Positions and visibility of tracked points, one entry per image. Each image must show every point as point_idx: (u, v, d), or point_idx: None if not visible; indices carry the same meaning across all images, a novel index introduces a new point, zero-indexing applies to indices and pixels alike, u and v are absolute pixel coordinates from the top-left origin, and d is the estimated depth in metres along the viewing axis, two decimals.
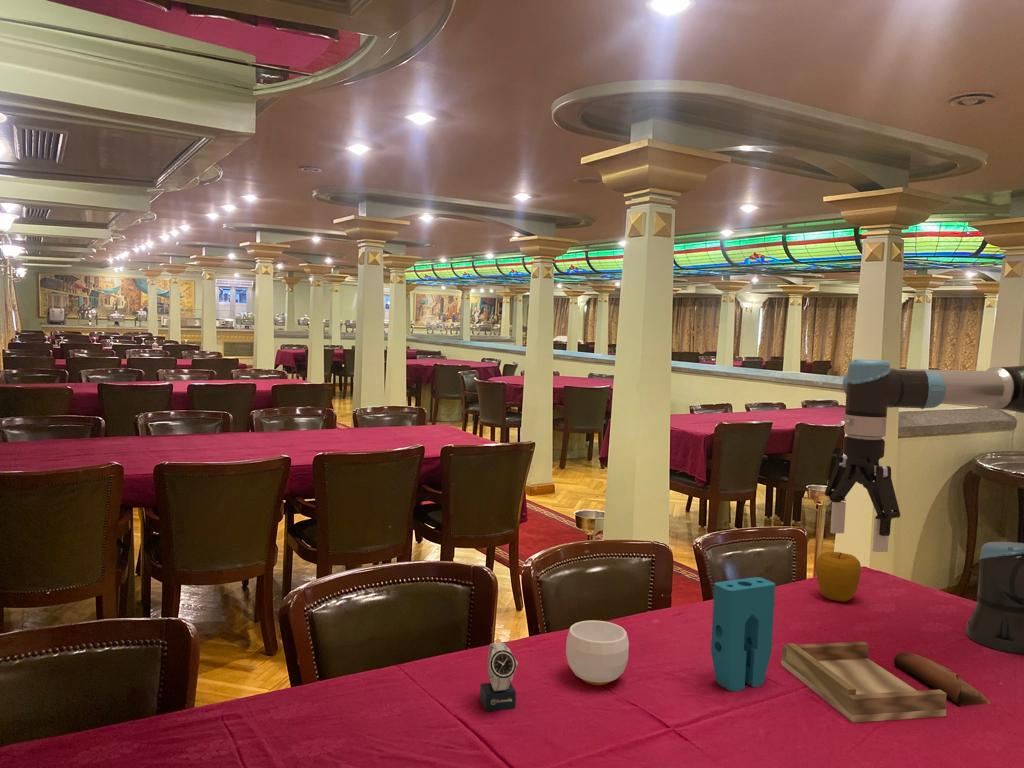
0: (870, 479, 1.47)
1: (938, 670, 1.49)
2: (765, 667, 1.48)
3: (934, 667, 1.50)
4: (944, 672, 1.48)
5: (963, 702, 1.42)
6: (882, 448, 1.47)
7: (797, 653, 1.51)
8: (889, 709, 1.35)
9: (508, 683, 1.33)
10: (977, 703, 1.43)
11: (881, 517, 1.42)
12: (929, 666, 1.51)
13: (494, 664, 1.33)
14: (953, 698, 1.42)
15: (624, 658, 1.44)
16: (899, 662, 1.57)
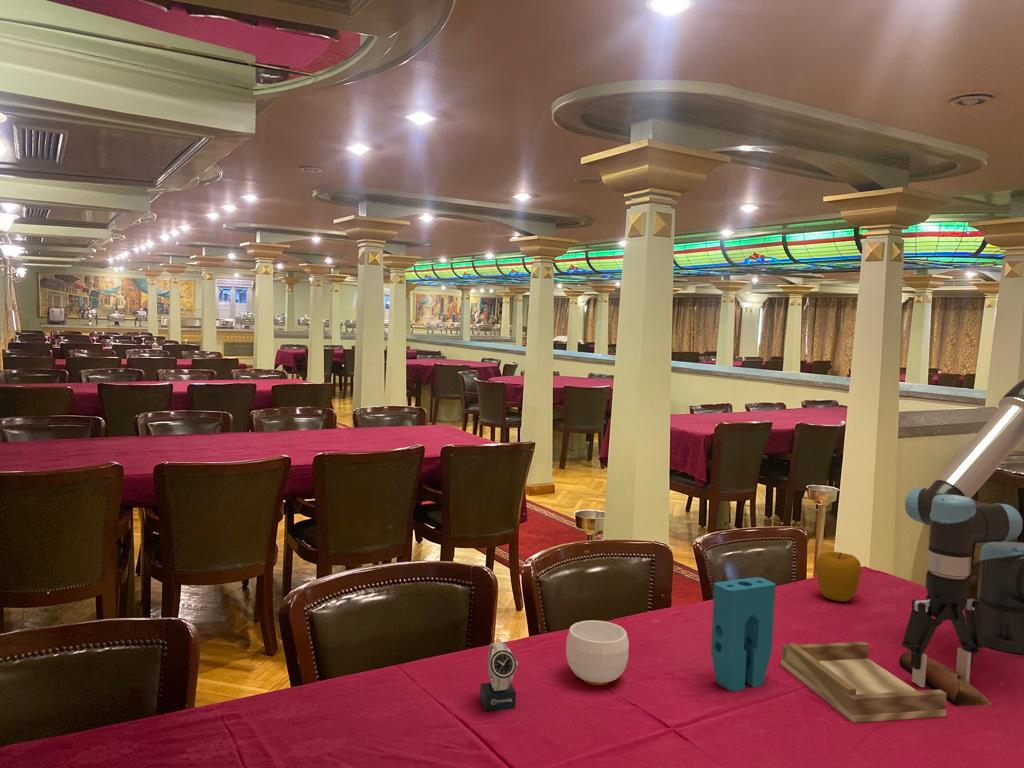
0: (932, 613, 1.50)
1: (940, 670, 1.49)
2: (765, 667, 1.48)
3: (936, 667, 1.50)
4: (945, 672, 1.48)
5: (962, 702, 1.42)
6: (939, 585, 1.47)
7: (797, 653, 1.51)
8: (889, 709, 1.35)
9: (508, 683, 1.33)
10: (976, 703, 1.42)
11: None
12: (932, 665, 1.51)
13: (494, 664, 1.33)
14: (951, 697, 1.43)
15: (624, 658, 1.44)
16: (904, 661, 1.57)
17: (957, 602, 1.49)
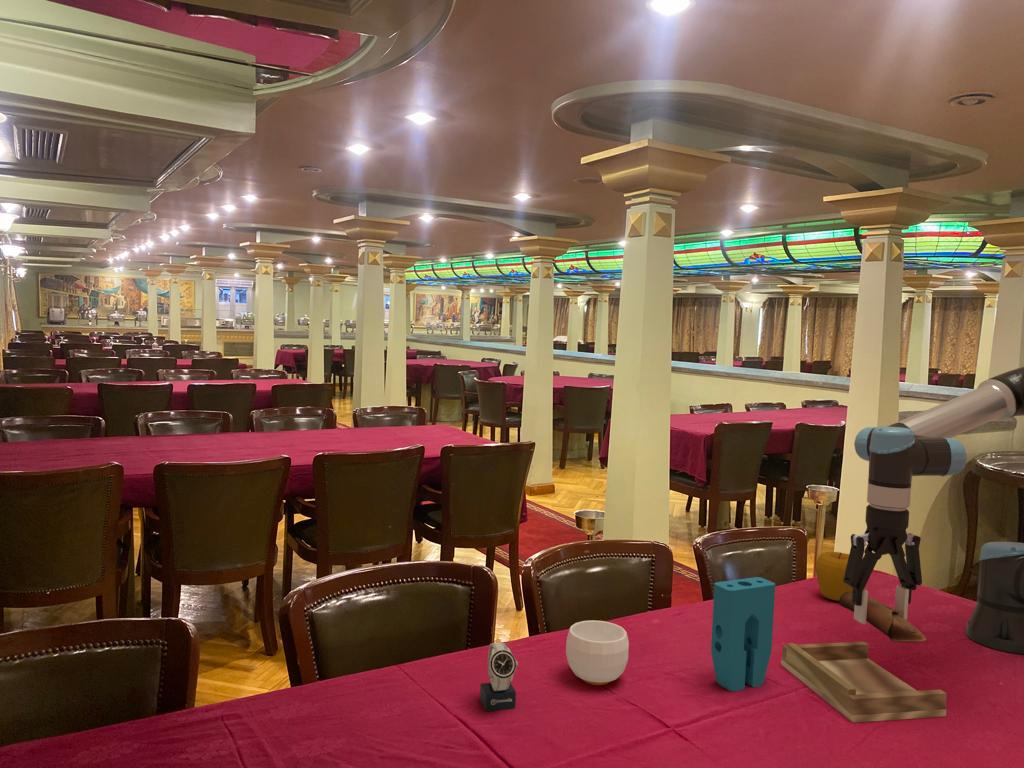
0: (871, 547, 1.46)
1: (876, 606, 1.46)
2: (765, 667, 1.48)
3: (873, 604, 1.47)
4: (881, 608, 1.45)
5: (895, 636, 1.38)
6: (878, 518, 1.44)
7: (797, 653, 1.51)
8: (889, 709, 1.35)
9: (508, 683, 1.33)
10: (910, 638, 1.39)
11: None
12: (869, 602, 1.48)
13: (494, 664, 1.33)
14: (884, 631, 1.39)
15: (624, 658, 1.44)
16: (843, 601, 1.54)
17: (897, 535, 1.46)
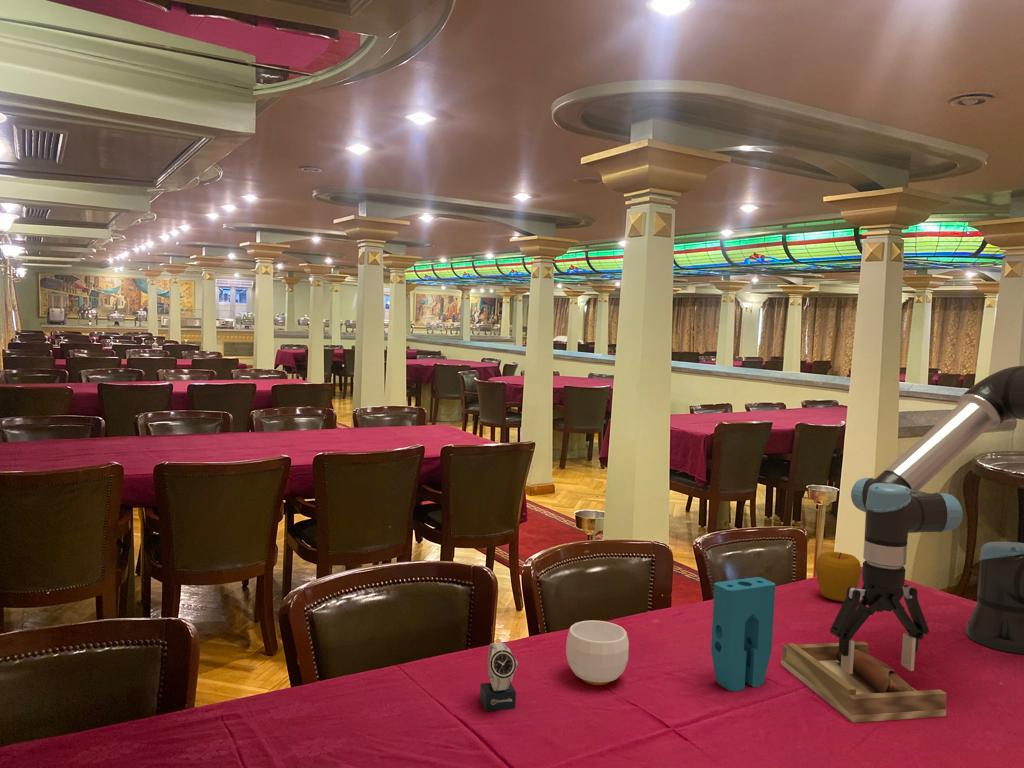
0: (867, 603, 1.47)
1: (873, 665, 1.46)
2: (765, 667, 1.48)
3: (870, 662, 1.48)
4: (878, 667, 1.45)
5: None
6: (874, 575, 1.44)
7: (797, 653, 1.51)
8: (889, 709, 1.35)
9: (508, 683, 1.33)
10: None
11: None
12: (866, 661, 1.48)
13: (494, 664, 1.33)
14: None
15: (624, 658, 1.44)
16: (840, 657, 1.55)
17: (893, 592, 1.46)
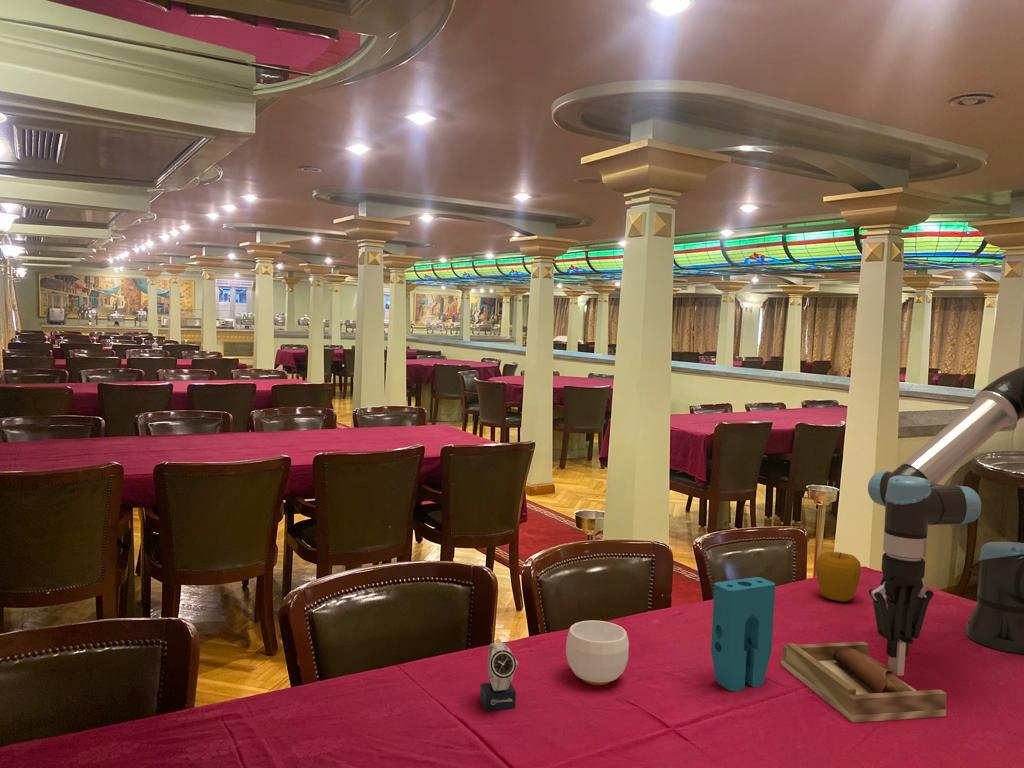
0: (887, 595, 1.47)
1: (870, 665, 1.46)
2: (765, 667, 1.48)
3: (867, 662, 1.48)
4: (875, 667, 1.45)
5: None
6: (894, 567, 1.45)
7: (797, 653, 1.51)
8: (889, 709, 1.35)
9: (508, 683, 1.33)
10: None
11: None
12: (863, 661, 1.48)
13: (494, 664, 1.33)
14: None
15: (624, 658, 1.44)
16: (837, 657, 1.55)
17: (913, 584, 1.47)
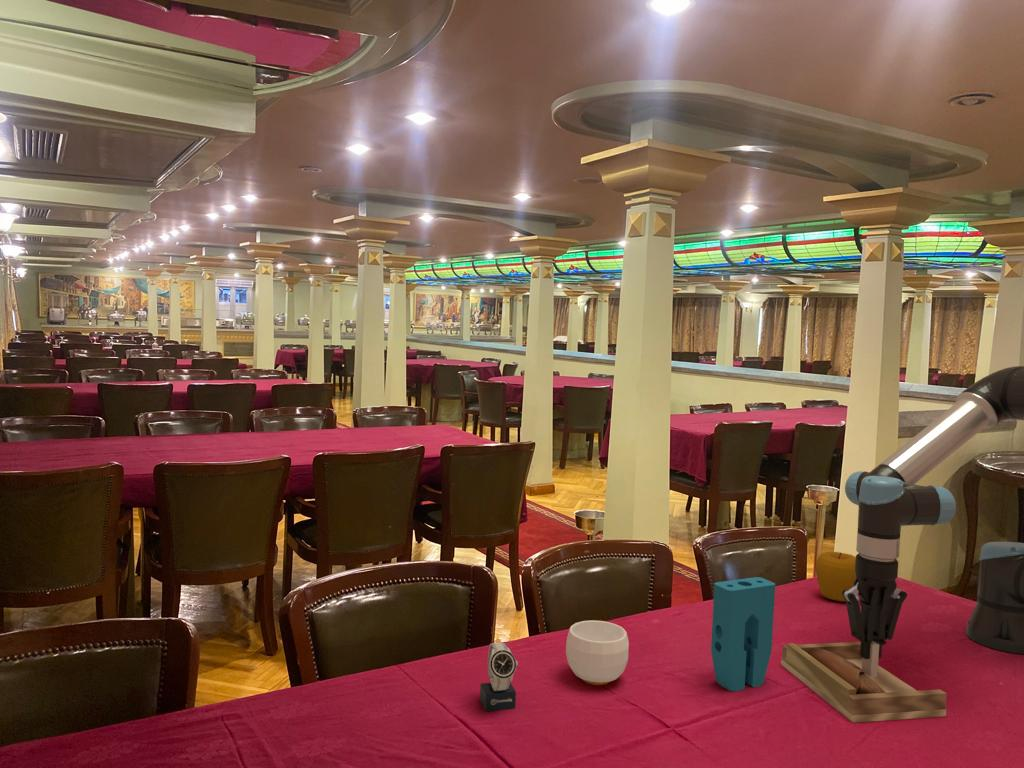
0: (860, 596, 1.46)
1: (843, 666, 1.45)
2: (765, 667, 1.48)
3: (840, 663, 1.47)
4: (848, 668, 1.44)
5: None
6: (867, 568, 1.44)
7: (797, 653, 1.51)
8: (889, 709, 1.35)
9: (508, 683, 1.33)
10: None
11: None
12: (836, 662, 1.47)
13: (494, 664, 1.33)
14: None
15: (624, 658, 1.44)
16: None
17: (886, 585, 1.46)
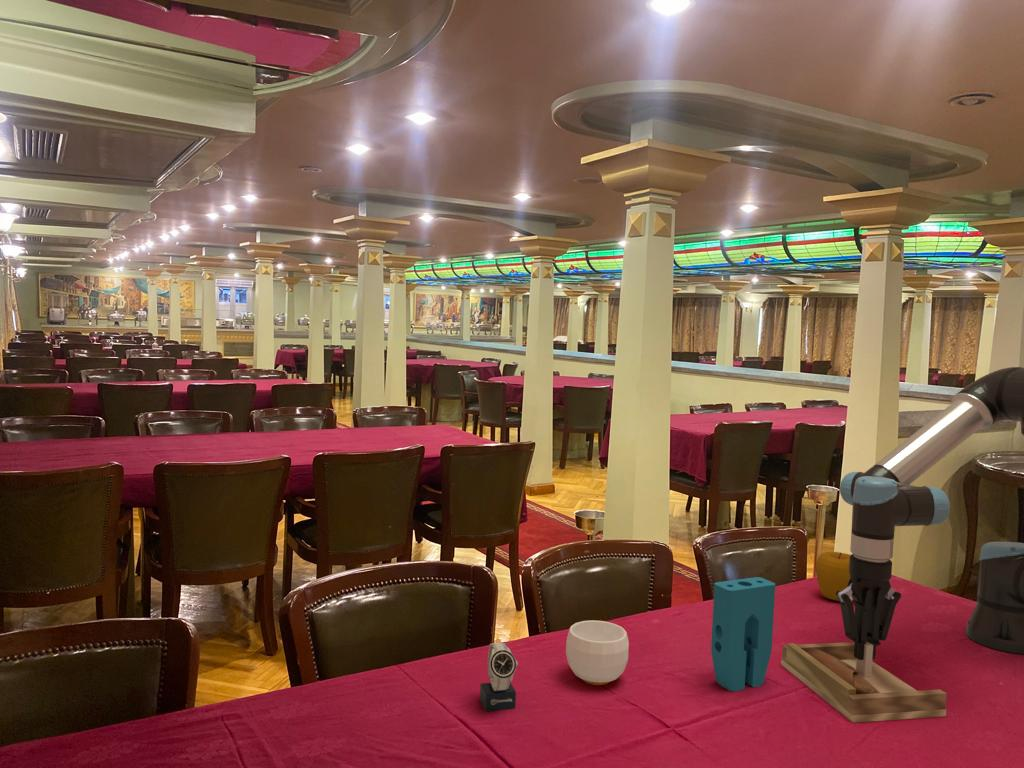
0: (854, 597, 1.46)
1: (837, 666, 1.45)
2: (765, 667, 1.48)
3: (834, 663, 1.46)
4: (842, 668, 1.44)
5: None
6: (860, 569, 1.44)
7: (797, 653, 1.51)
8: (889, 709, 1.35)
9: (508, 683, 1.33)
10: None
11: None
12: (829, 662, 1.47)
13: (494, 664, 1.33)
14: None
15: (624, 658, 1.44)
16: None
17: (880, 586, 1.46)
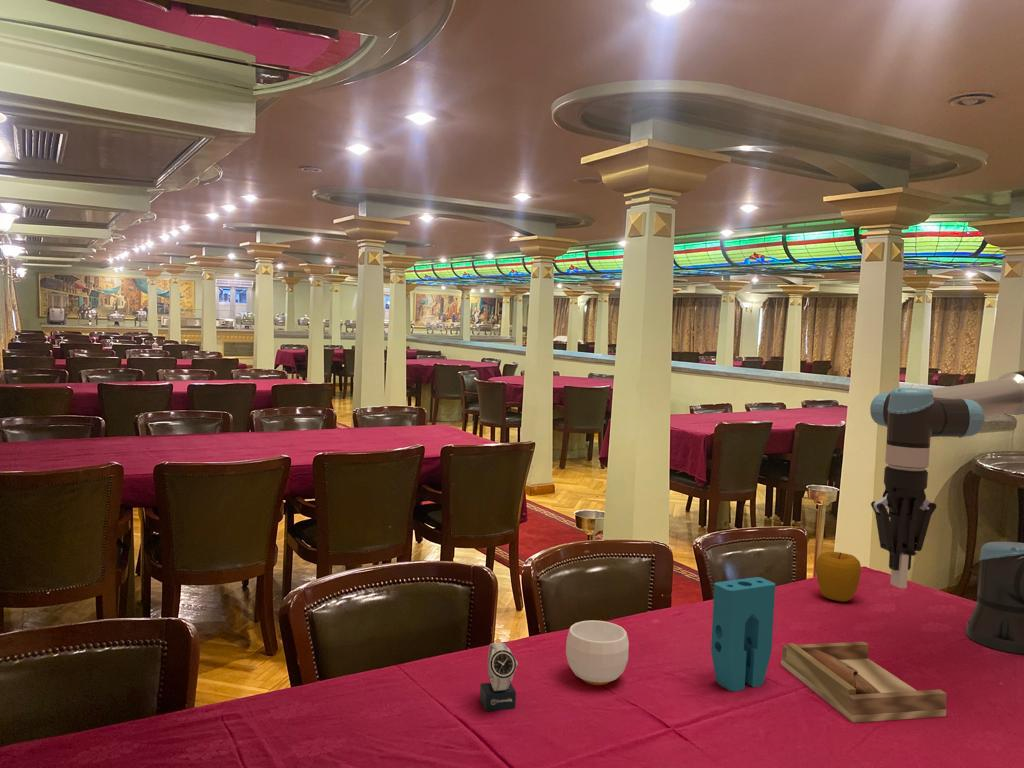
0: (890, 507, 1.46)
1: (837, 666, 1.45)
2: (765, 667, 1.48)
3: (834, 663, 1.46)
4: (842, 669, 1.44)
5: None
6: (896, 478, 1.44)
7: (797, 653, 1.51)
8: (889, 709, 1.35)
9: (508, 683, 1.33)
10: None
11: None
12: (829, 662, 1.47)
13: (494, 664, 1.33)
14: None
15: (624, 658, 1.44)
16: None
17: (915, 496, 1.46)
